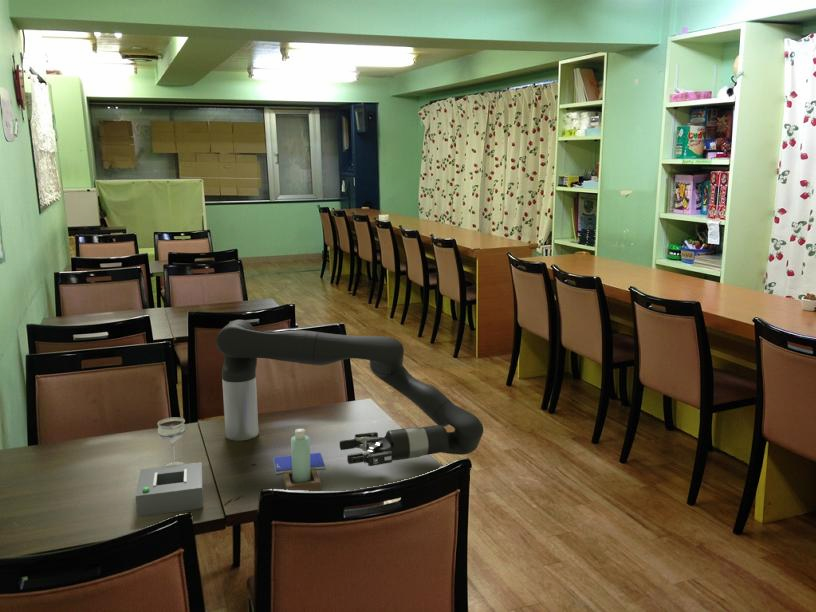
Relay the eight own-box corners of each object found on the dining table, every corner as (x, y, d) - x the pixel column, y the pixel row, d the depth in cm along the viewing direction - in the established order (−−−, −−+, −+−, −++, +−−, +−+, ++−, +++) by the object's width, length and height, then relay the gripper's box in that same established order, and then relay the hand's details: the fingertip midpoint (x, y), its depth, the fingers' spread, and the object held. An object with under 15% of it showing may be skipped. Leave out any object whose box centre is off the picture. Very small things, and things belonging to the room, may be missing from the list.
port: (142, 488, 165) (140, 466, 164) (203, 480, 169) (201, 459, 168) (137, 516, 152) (135, 493, 150) (203, 507, 156) (201, 485, 154)
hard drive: (275, 470, 172) (324, 464, 176) (273, 456, 180) (320, 451, 183) (275, 475, 173) (324, 470, 176) (273, 462, 180) (320, 457, 184)
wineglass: (168, 474, 172) (165, 429, 170) (155, 466, 177) (152, 422, 174) (193, 465, 177) (190, 421, 175) (179, 458, 182) (176, 415, 179)
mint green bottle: (291, 481, 168) (289, 428, 165) (309, 479, 169) (307, 426, 167) (293, 490, 164) (291, 435, 161) (312, 487, 165) (310, 433, 162)
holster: (283, 479, 169) (282, 472, 169) (315, 475, 172) (315, 468, 171) (287, 494, 162) (286, 486, 161) (320, 489, 164) (320, 482, 164)
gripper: (416, 469, 166) (350, 479, 161) (398, 446, 180) (337, 455, 175) (415, 440, 165) (349, 449, 160) (398, 419, 178) (336, 427, 173)
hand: (343, 452), depth 167 cm, fingers open, 8 cm apart
